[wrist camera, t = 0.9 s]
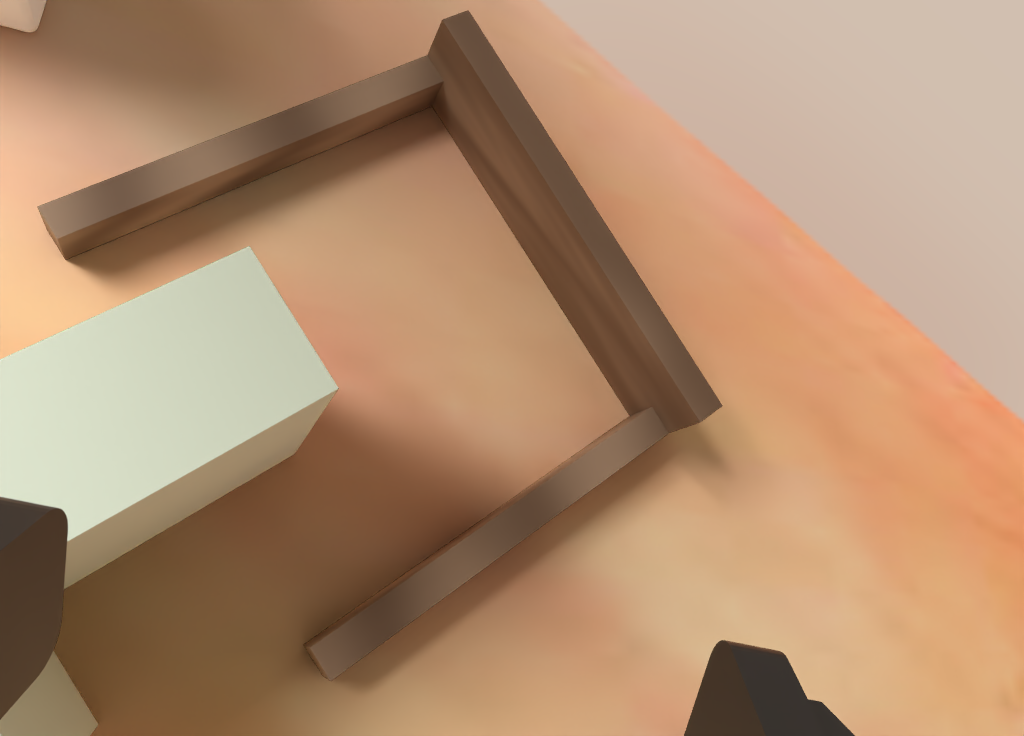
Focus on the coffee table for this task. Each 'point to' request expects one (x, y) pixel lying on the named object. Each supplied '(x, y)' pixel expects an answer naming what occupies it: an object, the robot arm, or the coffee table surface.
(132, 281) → the coffee table surface
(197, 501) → the t block
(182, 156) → the dock
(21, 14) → the medicine bottle
